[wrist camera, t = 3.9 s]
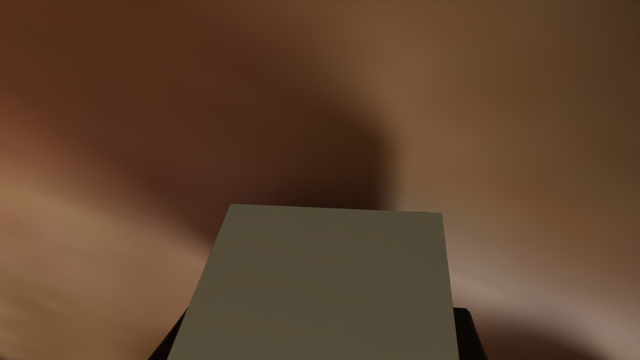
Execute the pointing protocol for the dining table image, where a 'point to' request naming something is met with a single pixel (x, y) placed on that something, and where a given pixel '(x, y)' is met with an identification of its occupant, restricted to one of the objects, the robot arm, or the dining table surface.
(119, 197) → the dining table surface
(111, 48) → the dining table surface
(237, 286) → the sage block
